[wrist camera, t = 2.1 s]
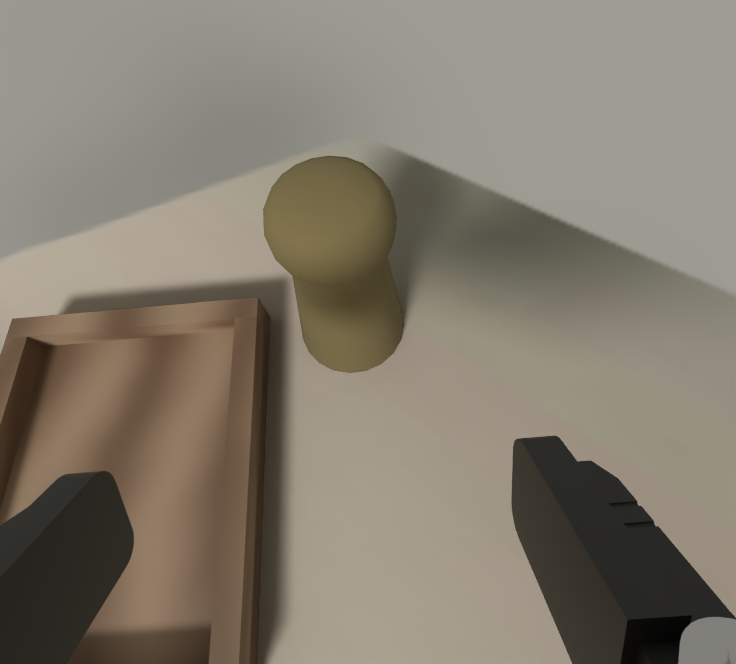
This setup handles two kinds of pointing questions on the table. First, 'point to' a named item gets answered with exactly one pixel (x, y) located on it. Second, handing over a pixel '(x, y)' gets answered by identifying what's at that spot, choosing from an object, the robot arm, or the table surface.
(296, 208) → the cork
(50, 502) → the robot arm
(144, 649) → the walnut tray
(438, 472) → the table surface
